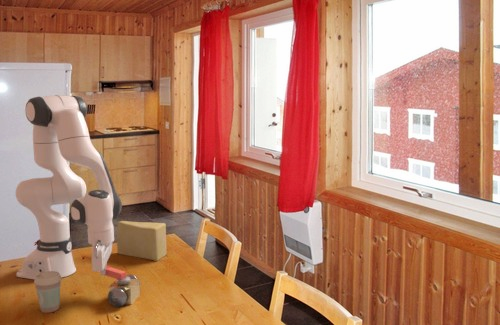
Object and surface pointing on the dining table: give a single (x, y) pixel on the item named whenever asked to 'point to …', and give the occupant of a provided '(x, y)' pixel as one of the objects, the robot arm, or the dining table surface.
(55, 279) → the coffee cup
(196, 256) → the dining table surface
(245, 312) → the dining table surface
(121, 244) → the cheese
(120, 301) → the valve
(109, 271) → the lever
